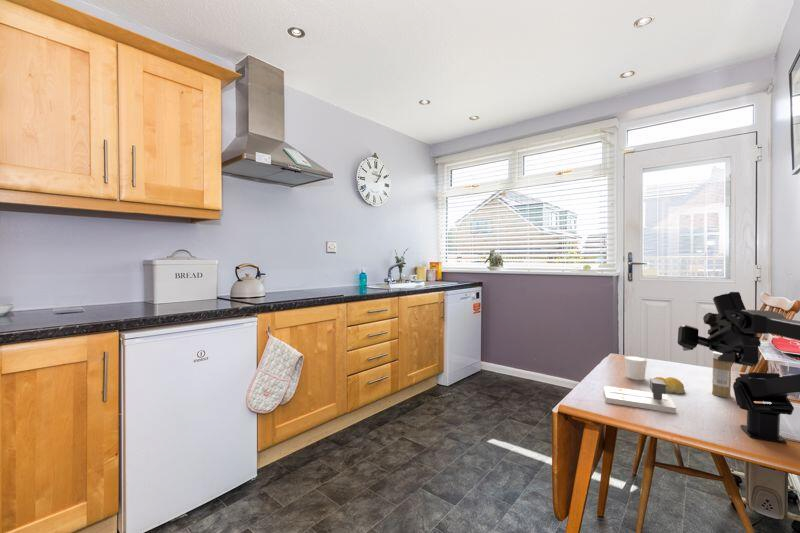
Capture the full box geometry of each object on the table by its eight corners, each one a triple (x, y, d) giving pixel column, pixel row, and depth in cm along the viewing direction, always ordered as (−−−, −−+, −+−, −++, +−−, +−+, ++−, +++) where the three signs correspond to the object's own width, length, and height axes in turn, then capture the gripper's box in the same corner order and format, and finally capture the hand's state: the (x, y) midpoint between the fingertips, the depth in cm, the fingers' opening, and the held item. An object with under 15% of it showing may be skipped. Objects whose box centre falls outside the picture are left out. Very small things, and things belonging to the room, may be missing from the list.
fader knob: (665, 401, 106) (665, 384, 106) (652, 399, 107) (652, 382, 107) (662, 395, 110) (662, 380, 109) (649, 394, 111) (649, 378, 111)
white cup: (627, 379, 130) (627, 359, 130) (621, 373, 137) (621, 354, 136) (649, 381, 128) (649, 361, 128) (642, 375, 135) (643, 356, 134)
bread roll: (646, 384, 126) (647, 372, 126) (677, 387, 123) (677, 375, 123) (655, 392, 118) (656, 380, 118) (688, 395, 115) (689, 383, 115)
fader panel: (676, 413, 102) (676, 407, 102) (606, 402, 109) (606, 397, 109) (667, 399, 112) (667, 394, 112) (603, 390, 119) (603, 385, 119)
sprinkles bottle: (732, 395, 115) (734, 353, 115) (727, 398, 112) (729, 355, 112) (714, 391, 119) (715, 350, 118) (709, 394, 116) (710, 352, 116)
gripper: (773, 320, 100) (736, 340, 113) (694, 300, 106) (668, 321, 119) (775, 358, 95) (737, 374, 108) (692, 334, 101) (665, 352, 114)
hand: (700, 354), depth 113 cm, fingers open, 9 cm apart
